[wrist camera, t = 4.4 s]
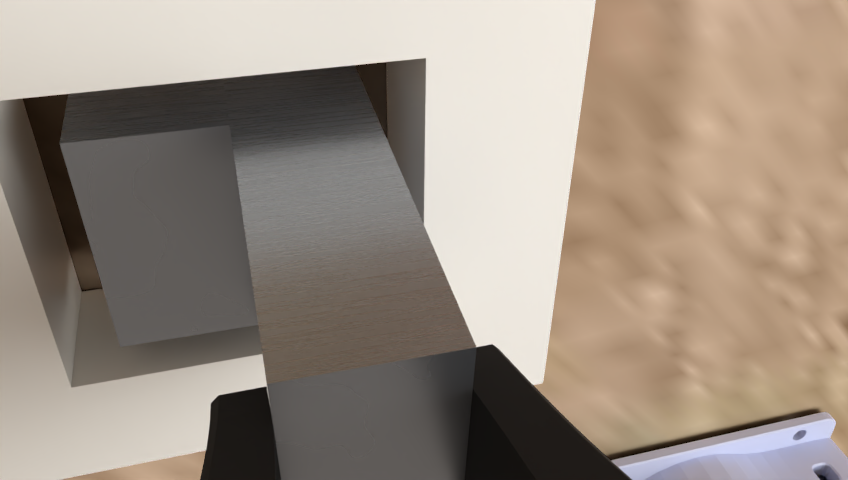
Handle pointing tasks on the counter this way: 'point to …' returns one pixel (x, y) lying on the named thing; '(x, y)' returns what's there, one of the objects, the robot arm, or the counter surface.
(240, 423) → the robot arm
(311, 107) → the stepped metal block
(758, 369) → the counter surface
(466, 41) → the white rectangular frame
